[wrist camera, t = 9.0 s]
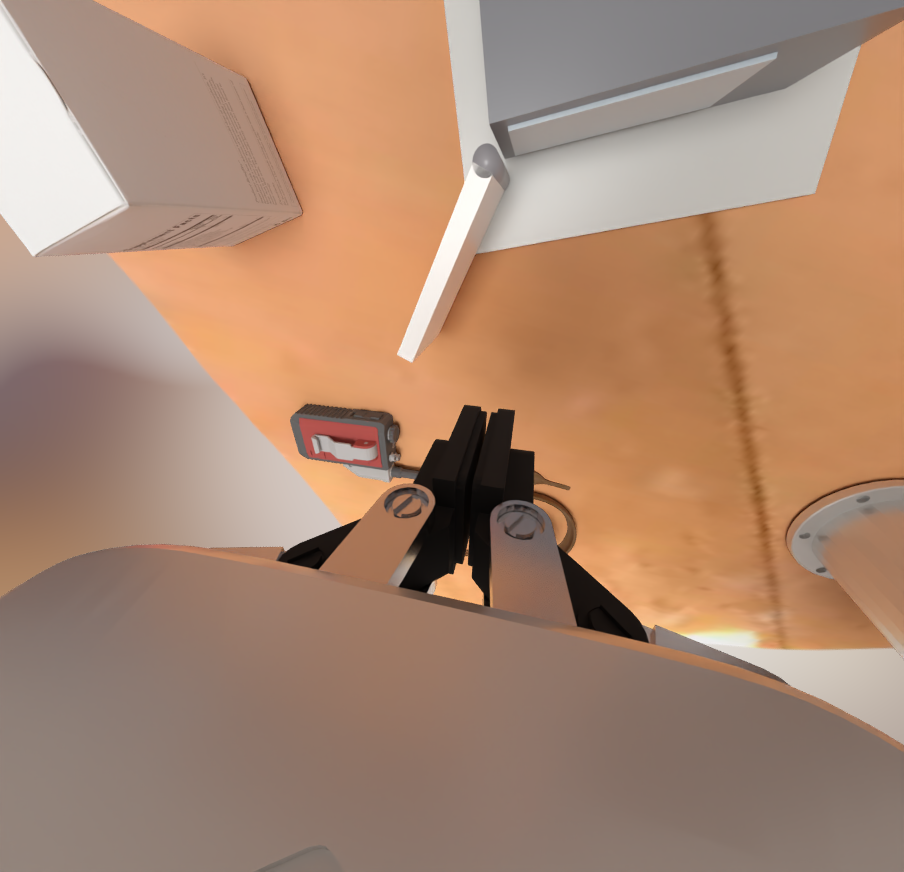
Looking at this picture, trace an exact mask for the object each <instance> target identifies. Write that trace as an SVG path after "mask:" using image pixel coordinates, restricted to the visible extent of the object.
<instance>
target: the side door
mask: <svg viewBox="0 0 904 872" xmlns="http://www.w3.org/2000/svg"><path fill="white" fill-rule="evenodd" d="M509 181H510V177H509V173H508V171H507V169H506V167H505V165H504V163H503V161H502V159H501V157H500V155H499V153H498V151H497V149H496V148H495V147H494V146H493V145H492V144H489V143H485V144H482V145H480V146H479V147H478V148H477V149H476V151H475V153H474V155H473V160H472V165H471V168H470V171H469V173H468V176H467V178H466V181H465V183H464V186H463V188H462V191H461V193H460V196H459V199H458V201H457V204H456V206H455V209H454V211H453V214H452V216H451V219H450V221H449V224H448V227H447V229H446V232H445V234H444V237H443V239H442V242H441V244H440V247H439V250H438V252H437V255H436V257H435V260H434V262H433V265H432V267H431V270H430V272H429V275H428V278H427V280H426V283H425V285H424V288H423V290H422V293H421V295H420V298H419V301H418V303H417V306H416V308H415V311H414V313H413V316H412V318H411V321H410V323H409V326H408V329H407V331H406V334H405V336H404V339H403V341H402V344H401V346H400V349H399V351H398V354H397V355H399V356H400V357H402V358H404V359H406V360H408V361H410V362H411V363H412V362H413V361H414V360H415V359H416V358H417V357H418V356H419V355H420V354H421V353H422V352H423V351H424V350H425V349H426V348H427V347H428V346H429V345H430V344H431V343H432V342H433V340H434V339H435V338H436V337H437V336H438V335H439V333H440V331H441V329H442V326H443V324H444V322H445V320H446V318H447V315H448V313H449V311H450V309H451V307H452V304H453V302H454V300H455V298H456V296H457V293H458V291H459V289H460V287H461V285H462V282H463V280H464V278H465V276H466V274H467V272H468V269H469V267H470V265H471V263H472V261H473V258H474V256H475V254H476V252H477V250H478V247H479V245H480V243H481V241H482V239H483V236H484V234H485V232H486V230H487V228H488V225H489V223H490V221H491V219H492V217H493V215H494V212H495V210H496V208H497V206H498V204H499V201H500V199H501V197H502V195H503V193H504V190H506V188H507V187H508V185H509Z"/></svg>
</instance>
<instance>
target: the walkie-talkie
mask: <svg viewBox="0 0 904 872" xmlns="http://www.w3.org/2000/svg"><path fill="white" fill-rule="evenodd" d="M290 422H291V426H292V430H293V433H294V437H295V440H296V444H297V447H298V451H299V453H300V454H301V455H302V456H304V457H306V458H307V459H312V460H313V459H314V460H319V461H327V462H332V463H333V462H334V463H340V464H343V466H345V467H346V468H347V469H349V470H350V471H352V472H353V473H354V474H356V475H357V476H359V477H364V478H370V479H376V480H382V481H384V482H389V483H390V482H391V480H392V478H393V477H396V478H401V477H404V478H410V479H416V477H417V475H418V473H419V471H414V470H407V469H403V468H402V467H395V466H394V461H395V462H396V461H399V460H400V454H397V452H396V446H395V443H396V442H397V440H398V438H399V427H398V425H393V416H392V415H391V414H389V413H384V412H376V411H367V410H358V409H353V410H351V409H346V408H344V409H343V408H341V407H340V408H337V407H335V408H334V407H329V406H327V407H325V406H320V405H319V406H317V405H312V404H310V405H308V404H306V405H305V406H304V407H302V408H301V409H300V410H298V411H297V412H296V413H295V414H294V415H293V416H292V417H291V419H290Z"/></svg>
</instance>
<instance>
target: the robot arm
mask: <svg viewBox="0 0 904 872" xmlns="http://www.w3.org/2000/svg"><path fill="white" fill-rule="evenodd" d="M514 415H515V410H506V409H498V413H494V412H491V416H490V420H489V423H488V427H487V431H486V418H487V412H485V411H481V407H478V406H469V405H464V407H463V409H462V411H461V414H460V416H459V418H458V421H457V423H456V425H455V427H454V430H453V432H452V434H451V437H450V439H449V441H447V440H439V439H436V440H435V441H434V443H433V445H432V447H431V449H430V451H429V453H428V455H427V457H426V459H425V461H424V463H423V465H422V467H421V469H420V471H419V473H418V475H417V477H416V479H415V481H414V483H413V484H401V485H397V486H394V487H392V488H390V489H388V490H387V491H386V492H384V493H383V494H382V495H381V496H380V498H379V499H378V500H377V501H376V502H375V504H374V505H373V506H372V507H371V508H370V509H369V511H368V512H367V513H366V514H365V515H364V517H363V518H362V519H359V520H357V521H354V522H352V523H349V524H347V525H344V526H342V527H339V528H337V529H334V530H332V531H329V532H327V533H325V534H322V535H319V536H317V537H314V538H312V539H309V540H307V541H304V542H302V543H300V544H298V545H296V546H294V547H292V548H290V549H289V550H288V551H284V549H283V547H236V548H235V547H234V548H202V547H195V546H185V545H171V544H152V545H151V544H149V545H131V546H124V547H116V548H109V549H104V550H99V551H95V552H90V553H86V554H83V555H79V556H75V557H72V558H70V559H67V560H65V561H62V562H60V563H58V564H56V565H54V566H52V567H50V568H48V569H46V570H44V571H42V572H41V573H39V574H37V575H36V576H34V577H32V578H31V579H29V580H27V581H26V582H24V583H23V584H21V585H19V586H17V587H15V588H14V589H12V590H10V591H9V592H7V593H6V594H4V595H3V596H1V597H0V872H904V745H903V744H901V743H899V742H898V741H896V740H894V739H893V738H891V737H889V736H888V735H886V734H885V733H883V732H881V731H880V730H878V729H876V728H875V727H873V726H871V725H869V724H867V723H865V722H863V721H861V720H860V719H857V718H856V717H854V716H852V715H850V714H848V713H846V712H844V711H843V710H841V709H839V708H837V707H835V706H833V705H831V704H829V703H827V702H825V701H823V700H821V699H819V698H816V697H814V696H812V695H809V694H807V693H805V692H803V691H800V690H798V689H796V688H793V687H791V686H790V685H788V684H787V683H786V682H785V681H784V680H782V679H781V678H779V677H778V676H776V675H774V674H772V673H770V672H769V671H767V670H765V669H763V668H760V667H758V666H755V665H753V664H751V663H748V662H745V661H743V660H741V659H738V658H736V657H733V656H731V655H728V654H726V653H724V652H721V651H718V650H716V649H713V648H711V647H709V646H706V645H704V644H701V643H699V642H696V641H694V640H692V639H689V638H687V637H684V636H682V635H679V634H677V633H674V632H672V631H669V630H667V629H665V628H662V627H660V626H657V625H655V626H654V628H653V629H651V628H648V627H646V626H643V625H642V624H641V623H640V621H639V620H638V619H637V618H636V616H635V615H634V614H633V613H632V612H631V611H630V610H629V609H628V608H627V607H626V606H625V605H623V604H622V603H621V602H620V601H619V600H618V599H617V598H616V597H615V596H613V595H612V594H611V593H610V592H609V591H608V590H607V589H606V588H604V587H603V586H602V585H601V584H600V583H599V582H598V581H597V580H596V579H594V578H593V577H592V576H591V575H590V574H589V573H588V572H587V571H586V570H584V569H583V568H582V567H581V566H580V565H579V564H578V563H577V562H576V561H574V560H573V559H572V558H571V557H570V556H569V555H568V554H567V553H566V552H564V551H563V550H562V549H561V548H560V547H559V546H558V545H557V543H556V539H555V535H554V531H553V526H552V523H551V520H550V518H549V516H548V515H547V514H546V513H545V512H544V510H542V509H541V508H539V507H538V506H536V505H535V504H533V496H534V452H533V451H525V450H517V449H510V448H511V440H512V431H513V423H514ZM485 432H486V435H485ZM468 539H469V555H468V565H469V566H472V579H473V580H474V581H475V583H476V584H477V585H478V587H479V588H480V589H481V591H482V592H483V599H482V605H478V604H473V603H469V602H464V601H460V600H455V599H451V598H446V597H442V596H437V595H433V593H434V591H435V589H436V585H437V579H439V578H441V577H442V576H444V575H446V574H448V573H449V574H454V570H455V566H456V563H459V564H463V561H464V557H465V552H466V548H467V544H468ZM786 542H787V548H788V549H789V551H790V553H791V555H792V556H793V557H794V558H795V560H796V561H797V562H798V563H799V564H800V565H801V566H802V567H804V568H805V569H806V570H808V571H810V572H812V573H814V574H816V575H819V576H823V577H826V578H830V579H835V580H836V581H837V582H838V583H839V585H840V586H841V587H842V588H843V589H844V590H845V592H846V593H847V594H848V595H849V596H850V597H851V599H852V600H853V601H854V602H855V603H856V604H857V606H858V607H859V608H860V609H861V610H862V611H863V613H864V614H865V615H866V616H867V617H868V618H869V620H870V621H871V622H872V623H873V624H874V625H875V627H876V628H877V629H878V630H879V631H880V632H881V634H882V635H883V636H884V637H885V638H886V639H887V641H888V642H889V643H890V644H891V645H892V646H893V648H894V649H895V650H896V651H897V652H898V653H899V655H900V656H901V657H902V658H903V659H904V480H887V481H877V482H871V483H866V484H861V485H857V486H853V487H850V488H847V489H844V490H841V491H838V492H836V493H833V494H831V495H829V496H826V497H824V498H822V499H821V500H819V501H817V502H815V503H814V504H812V505H811V506H809V507H808V508H807V509H805V510H804V511H803V512H802V513H801V514H800V515H799V516H798V517H797V518H796V519H795V520H794V521H793V523H792V524H791V526H790V528H789V530H788V533H787V538H786Z"/></svg>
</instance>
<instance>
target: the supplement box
mask: <svg viewBox="0 0 904 872" xmlns="http://www.w3.org/2000/svg"><path fill="white" fill-rule="evenodd" d="M0 214H1V215H2V216H3V218H4V219H5V220H6V222H7V223H8V224H9V225H10V227H11V228H12V229H13V230H14V232H15V233H16V234H17V235H18V237H19V238H20V240H21V241H22V242H23V243H24V244H25V246H26V248H27V249H28V250H29V252H30V253H31V254H32V255H33V256H34V257H39V256H62V255H80V254H96V253H97V254H98V253H115V252H132V251H149V250H166V249H185V248H203V247H223V246H234V245H237V244H239V243H241V242H243V241H245V240H248V239H250V238H252V237H254V236H256V235H259V234H261V233H263V232H265V231H267V230H270V229H272V228H274V227H276V226H279V225H281V224H283V223H285V222H287V221H290V220H292V219H294V218H296V217H298V216H300V215H302V210H301V207H300V205H299V202H298V200H297V198H296V195H295V193H294V191H293V188H292V186H291V183H290V181H289V179H288V176H287V174H286V171H285V169H284V167H283V164H282V162H281V159H280V157H279V155H278V152H277V150H276V147H275V145H274V143H273V140H272V138H271V136H270V133H269V131H268V128H267V126H266V124H265V121H264V119H263V117H262V114H261V112H260V109H259V107H258V105H257V102H256V100H255V97H254V95H253V93H252V90H251V88H250V86H249V83H248V81H247V79H246V78H245V77H243V76H241V75H239V74H237V73H235V72H233V71H231V70H229V69H227V68H225V67H223V66H221V65H219V64H218V63H216V62H214V61H212V60H210V59H208V58H206V57H204V56H202V55H200V54H198V53H196V52H193V51H192V50H190V49H188V48H186V47H184V46H182V45H180V44H178V43H176V42H174V41H172V40H170V39H168V38H166V37H164V36H162V35H160V34H158V33H156V32H154V31H152V30H150V29H148V28H146V27H144V26H143V25H141V24H139V23H137V22H135V21H133V20H131V19H129V18H127V17H125V16H123V15H121V14H119V13H117V12H115V11H113V10H111V9H109V8H107V7H105V6H103V5H101V4H99V3H97V2H95V1H93V0H0Z"/></svg>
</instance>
